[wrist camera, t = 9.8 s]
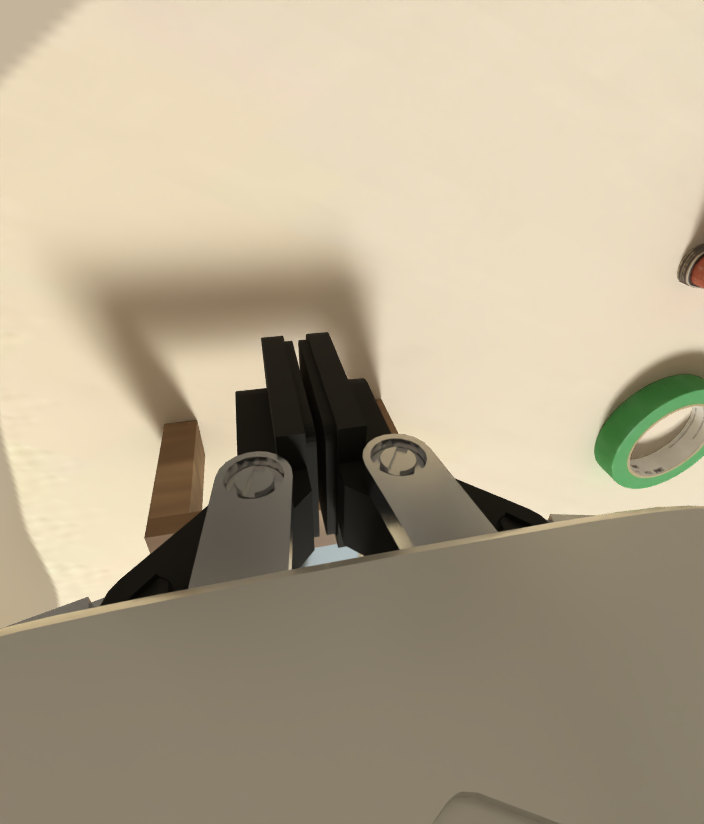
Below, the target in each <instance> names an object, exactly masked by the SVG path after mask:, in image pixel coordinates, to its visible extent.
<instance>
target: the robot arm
mask: <svg viewBox="0 0 704 824" xmlns="http://www.w3.org/2000/svg"><path fill="white" fill-rule="evenodd" d="M261 342H262V351H263V360H264V369H265V378H266V387H267V388H264V389H254V390H245V391H236V426H237V456H236V457H234V458H232V459H231V460H229V461H227V462H226V463H225V464H224V465H223V466H222V467H221V468H220V469H219V471H218V473H217V475H216V477H215V480H214V484H213V488H212V492H211V496H210V501H209V505H208V506H207V507H206V508H205V509H203V510H202V511H201V512H200V513H199V514H197V515H196V516H195V517H194V518H193V519H191V520H190V521H189V522H188V523H187V524H185V525H184V526H183V527H182V528H181V529H180V530H178V531H177V532H176V533H175V534H174V535H172V536H171V537H170V538H169V539H168V540H166V541H165V542H164V543H163V544H162V545H160V546H159V547H158V548H157V549H156V550H155V551H153V552H152V553H151V554H150V555H149V556H147V557H146V558H145V559H144V560H143V561H141V562H140V563H139V564H138V565H137V566H135V567H134V568H133V569H132V570H131V571H130V572H128V573H127V574H126V575H125V576H124V577H122V578H121V579H120V580H119V581H118V582H117V583H116V584H115V585H114V586H113V587H112V588H111V589H110V590H109V591H108V593H107V594H106V596H105V598H102V599H100V600H97V601H94V602H92V603H91V601H90V599H89V598H88V597H86V598H84V599H81V600H78V601H75V602H73V603H70V604H67V605H64V606H62V607H59V608H56V609H53V610H51V611H48V612H45V613H43V614H40V615H37V616H34V617H31V618H29V619H26V620H23V621H21V622H18V623H15V624H12V625H9V626H7V627H4V628H0V824H704V506H673V507H655V508H647V509H640V510H632V511H623V512H615V513H609V514H603V515H597V516H596V515H560V514H550V516H549V519H548V520H545V519H544V518H543V517H542V516H541V515H539V514H537V513H535V512H534V511H532V510H530V509H528V508H525V507H523V506H520V505H518V504H516V503H513V502H511V501H508V500H506V499H503V498H501V497H499V496H496V495H494V494H491V493H489V492H486V491H484V490H482V489H479V488H477V487H474V486H472V485H469V484H467V483H465V482H462V481H460V480H457V479H455V478H454V477H453V476H452V475H451V473H450V472H449V471H448V470H447V468H446V467H445V466H444V465H443V463H442V462H441V461H440V460H439V458H438V457H437V456H436V455H435V453H434V452H433V451H432V450H431V449H430V448H429V447H428V446H427V445H426V444H425V443H424V442H423V441H421V440H419V439H417V438H415V437H412V436H408V435H405V434H391V432H390V429H389V427H388V425H387V423H386V421H385V419H384V417H383V415H382V413H381V410H380V408H379V406H378V404H377V402H376V400H375V398H374V396H373V394H372V391H371V389H370V387H369V385H368V383H367V381H366V380H365V379H364V378H360V379H350V380H348V379H347V376H346V374H345V372H344V369H343V367H342V364H341V362H340V360H339V357H338V355H337V352H336V350H335V347H334V345H333V343H332V340H331V338H330V335H329V333H328V332H324V333H312V334H306V340H299V342H298V346H299V364H300V369H299V365H298V361H297V357H296V354H295V350H294V346H293V342H292V341H286V342H284V338H283V336H276V337H264V338H261ZM319 504H320V509H321V513H322V518H323V522H324V527H325V531H326V534H327V535H331V534H335V537H336V541H337V545H338V548H341V547H348V548H350V549H352V550H354V551H356V552H358V557H357V558H352V559H346V560H341V561H335V562H330V563H324V564H319V565H314V566H308V567H303V568H300V567H301V566H302V565H303V563H304V562H305V561H306V560H307V559H308V558H309V556H310V555H311V554H312V553H313V552H314V550H315V546H314V537H319V536H320V527H319Z"/></svg>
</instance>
